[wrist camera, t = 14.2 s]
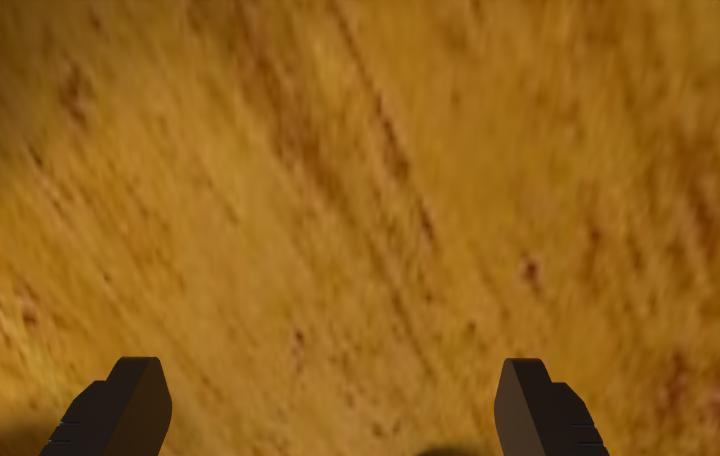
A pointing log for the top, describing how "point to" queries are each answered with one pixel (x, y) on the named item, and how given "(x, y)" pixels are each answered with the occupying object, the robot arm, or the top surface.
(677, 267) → the top surface
